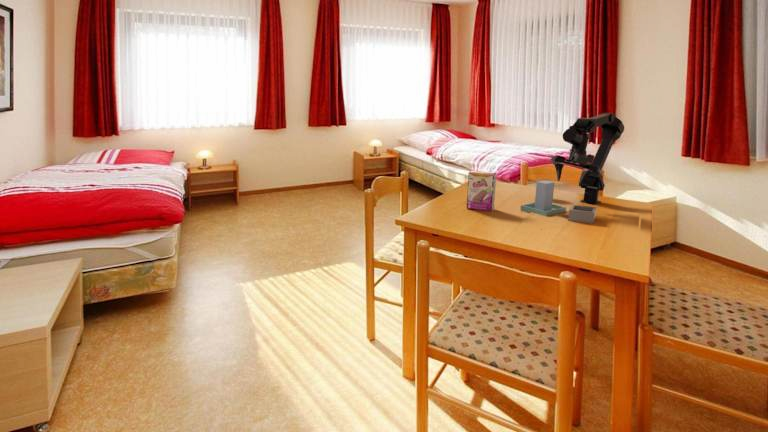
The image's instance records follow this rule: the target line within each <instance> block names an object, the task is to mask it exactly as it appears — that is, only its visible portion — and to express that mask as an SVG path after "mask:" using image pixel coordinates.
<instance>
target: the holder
mask: <svg viewBox="0 0 768 432" xmlns="http://www.w3.org/2000/svg"><path fill="white" fill-rule="evenodd" d="M570 206H571V207H570V208H569V211H568V219H567V220H568V222H575V223H584V224H594V222H595V219H596V214H597V207H596V206H589V205H581V204H579V205H578V204H572V205H570Z"/></svg>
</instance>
